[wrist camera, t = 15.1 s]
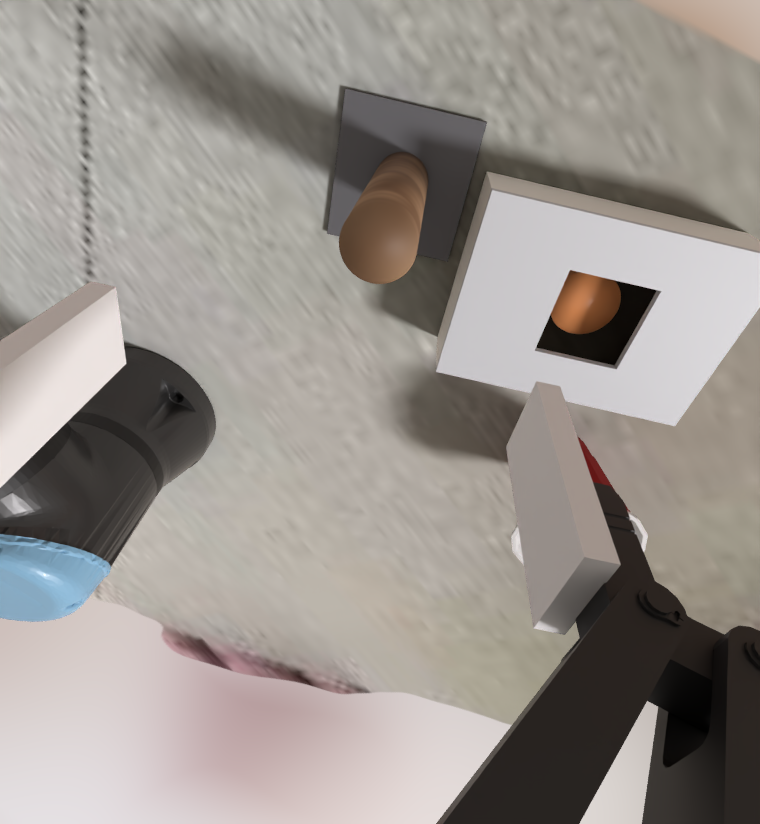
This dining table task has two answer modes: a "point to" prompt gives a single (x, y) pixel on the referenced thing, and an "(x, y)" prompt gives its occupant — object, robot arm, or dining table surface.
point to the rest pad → (416, 134)
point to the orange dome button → (586, 303)
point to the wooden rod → (386, 221)
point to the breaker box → (604, 257)
